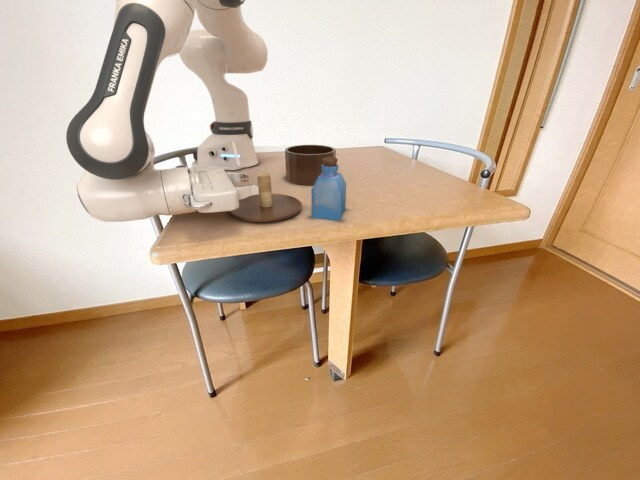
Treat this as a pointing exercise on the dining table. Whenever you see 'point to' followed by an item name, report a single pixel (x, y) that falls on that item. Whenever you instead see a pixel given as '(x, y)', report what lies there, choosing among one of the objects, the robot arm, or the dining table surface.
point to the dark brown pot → (306, 162)
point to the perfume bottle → (329, 192)
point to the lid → (266, 204)
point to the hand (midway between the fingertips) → (252, 182)
